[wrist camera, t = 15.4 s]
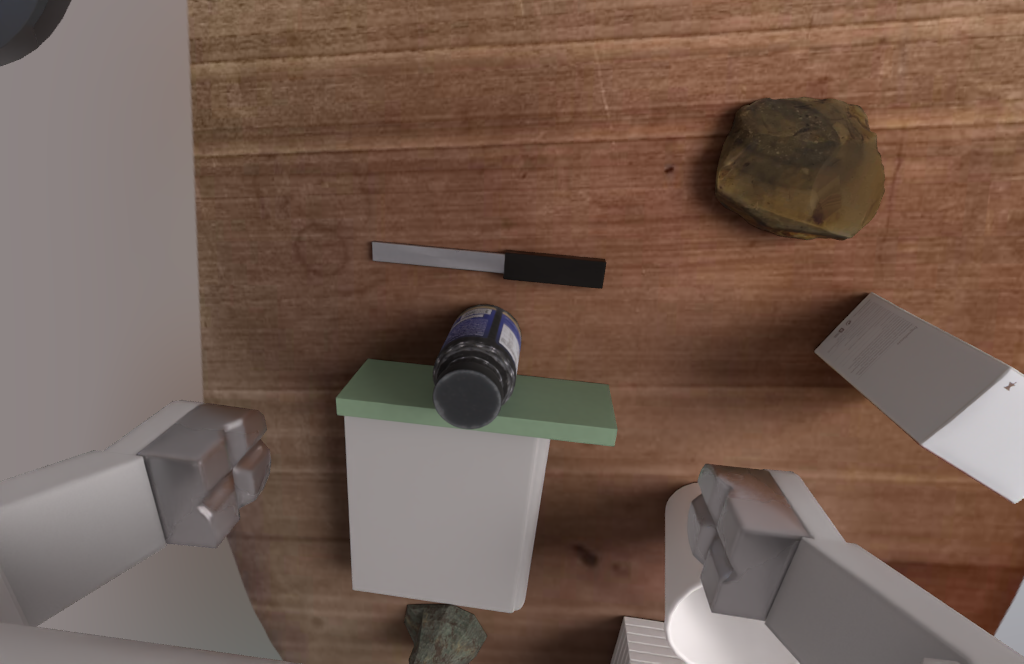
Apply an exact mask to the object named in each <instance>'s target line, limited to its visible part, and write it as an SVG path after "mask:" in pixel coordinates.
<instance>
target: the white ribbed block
mask: <svg viewBox="0 0 1024 664" xmlns="http://www.w3.org/2000/svg"><path fill="white" fill-rule="evenodd" d="M610 664H686V663H685V662H684V661H683V660H681V659H680V658H679V657H678V656H677V655H676V654H675V653H674V652H673V650H672V649H671V647H670V645H669V644H668V642H667V640H666V636H665V630H664V622H659V621H652V620H645V619H639V618H632V617H625V616H624V618H623V622H622V625H621V629H620V632H619V636H618V639H617V643H616V646H615V650H614V653H613V656H612V660H611V663H610Z"/></svg>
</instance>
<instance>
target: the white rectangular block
mask: <svg viewBox="0 0 1024 664" xmlns="http://www.w3.org/2000/svg"><path fill="white" fill-rule="evenodd" d="M344 424H345V444H346V465H347V485H348V506H349V526H350V547H351V567H352V587H353V590H358V591H365V592H372V593H378V594H385V595H392V596H399V597H405V598H412V599H419V600H426V601H432V602H439V603H446V604H453V605H459V606H466V607H473V608H480V609H486V610H493V611H500V612H507V613H513V612H514V611H515V610H519V609H520V608H521V607H522V606H523V604H524V602H525V597H526V591H527V584H528V578H529V571H530V565H531V559H532V552H533V546H534V540H535V533H536V527H537V520H538V514H539V508H540V501H541V495H542V489H543V482H544V476H545V469H546V463H547V457H548V450H549V444H550V439H544V438H535V437H526V436H517V435H509V434H500V433H491V432H482V431H473V430H465V429H456V428H447V427H438V426H429V425H421V424H412V423H403V422H394V421H385V420H377V419H368V418H359V417H350V416H344Z"/></svg>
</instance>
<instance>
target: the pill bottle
mask: <svg viewBox="0 0 1024 664" xmlns="http://www.w3.org/2000/svg"><path fill="white" fill-rule="evenodd" d="M520 347H521V331H520V328H519V325H518V323H517V321H516V320H515V318H514V317H513V316H512V315H511V314H510V313H508V312H507V311H505V310H503V309H501V308H499V307H497V306H494V305H488V304H487V305H476V306H473V307H470V308H468V309H466V310H465V311H464V312H462V313H461V314H460V315H459V316H458V317H457V319H456V321H455V322H454V324H453V326H452V328H451V330H450V333H449V335H448V337H447V339H446V341H445V342H444V344H443V346H442V348H441V351H440V353H439V355H438V357H437V359H436V361H435V364H434V368H433V382H434V385H435V387H434V390H433V403H434V406H435V409H436V411H437V412H438V414H439V415H440V416H441V417H442V419H444V420H445V421H446V422H448V423H449V424H451V425H453V426H455V427H457V428H462V429H477V428H482V427H484V426H486V425H488V424H490V423H491V422H492V421H493V420H494V419H495V418H496V417H497V415H498V414H499V412H500V410H501V406H502V405H504V404H505V403H506V402H507V400H508V399H509V398H510V396H511V395H512V393H513V390H514V387H515V383H516V375H517V368H518V361H519V354H520Z"/></svg>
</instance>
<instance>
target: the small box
mask: <svg viewBox="0 0 1024 664" xmlns="http://www.w3.org/2000/svg"><path fill="white" fill-rule="evenodd" d="M814 353H815V354H816V355H817V356H819V357H820V358H821V359H822V360H823V361H824V362H825V363H827V364H828V365H829V366H830V367H831V368H832V369H833V370H835V371H836V372H837V373H838V374H839V375H841V376H842V377H843V378H844V379H845V380H846V381H848V382H849V383H850V384H851V385H852V386H853V387H854V388H855V389H856V390H858V391H859V392H860V393H861V394H862V395H863V396H864V397H866V398H867V399H868V400H869V401H870V402H871V403H872V404H873V405H875V406H876V407H877V408H878V409H879V410H880V411H881V412H883V413H884V414H885V415H886V416H887V417H888V418H890V419H891V420H892V421H893V422H894V423H895V424H896V425H897V426H899V427H900V428H901V429H902V430H903V431H904V432H905V433H906V434H908V435H909V436H910V437H911V438H912V439H913V440H914V441H915V442H916V443H917V444H919V445H920V446H921V447H922V448H924V449H926V450H927V451H929V452H930V453H932V454H934V455H935V456H937V457H938V458H940V459H942V460H943V461H945V462H946V463H948V464H950V465H951V466H953V467H955V468H956V469H958V470H959V471H961V472H963V473H964V474H966V475H968V476H969V477H971V478H972V479H974V480H976V481H977V482H979V483H981V484H982V485H984V486H986V487H987V488H989V489H990V490H992V491H994V492H995V493H997V494H998V495H1000V496H1002V497H1003V498H1005V499H1007V500H1008V501H1010V502H1012V503H1013V504H1014V503H1017V502H1019V501H1020V500H1022V499H1023V498H1024V374H1022V373H1020V372H1019V371H1017V370H1016V369H1014V368H1013V367H1011V366H1009V365H1007V364H1005V363H1003V362H1002V361H1000V360H998V359H996V358H994V357H992V356H990V355H989V354H987V353H985V352H983V351H981V350H979V349H977V348H975V347H974V346H972V345H970V344H968V343H966V342H964V341H962V340H960V339H958V338H957V337H955V336H953V335H951V334H949V333H947V332H945V331H943V330H941V329H939V328H937V327H936V326H934V325H932V324H930V323H928V322H926V321H924V320H922V319H920V318H918V317H916V316H914V315H912V314H911V313H909V312H907V311H905V310H903V309H902V308H900V307H898V306H896V305H894V304H893V303H891V302H889V301H887V300H885V299H883V298H882V297H880V296H878V295H876V294H874V293H870V294H869V295H868V296H867V297H866V298H865V299H864V300H863V301H862V302H861V303H860V304H859V305H858V306H857V307H856V308H855V309H854V310H853V311H852V312H851V313H850V314H849V315H848V316H847V317H846V318H845V319H844V320H843V321H842V322H841V323H840V324H839V325H838V326H837V328H836V329H835V330H834V331H833V332H832V333H831V334H830V335H829V336H828V337H827V338H826V339H825V340H824V341H823V342H822V343H821V344H820V345H819V346H818V347H817V348H816V349H815V351H814Z"/></svg>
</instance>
